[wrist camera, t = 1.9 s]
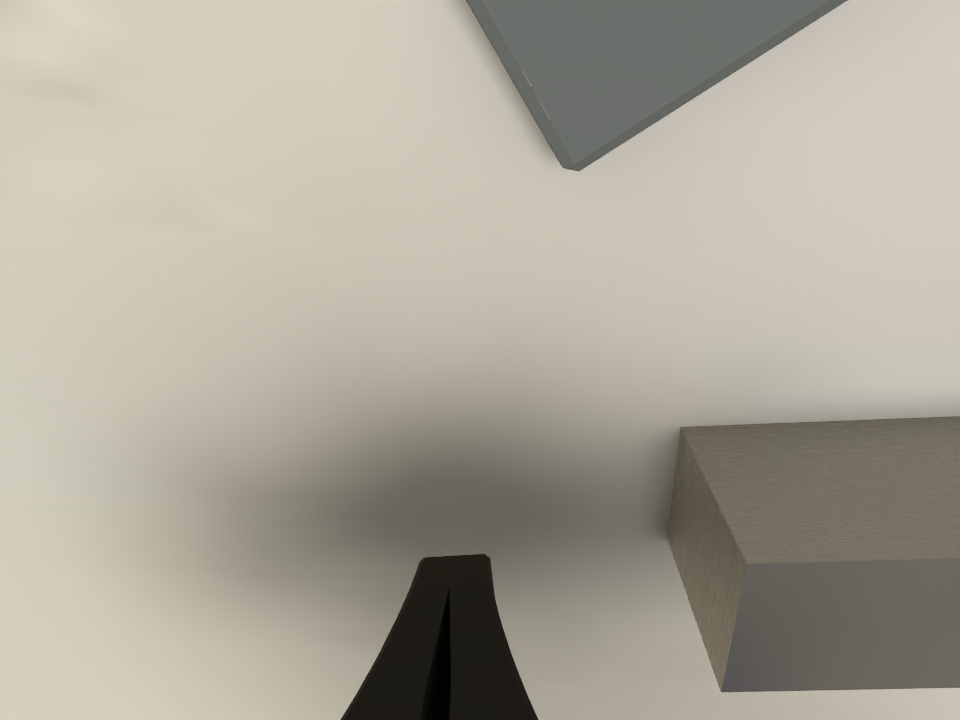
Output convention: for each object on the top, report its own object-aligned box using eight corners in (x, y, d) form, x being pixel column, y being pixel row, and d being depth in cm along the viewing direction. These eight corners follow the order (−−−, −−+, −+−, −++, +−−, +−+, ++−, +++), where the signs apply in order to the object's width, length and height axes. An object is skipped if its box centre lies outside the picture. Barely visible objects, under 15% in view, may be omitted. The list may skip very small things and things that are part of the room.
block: (992, 524, 15) (1154, 684, 11) (666, 535, 15) (721, 691, 12) (1043, 409, 14) (1251, 550, 10) (679, 423, 14) (746, 564, 10)
